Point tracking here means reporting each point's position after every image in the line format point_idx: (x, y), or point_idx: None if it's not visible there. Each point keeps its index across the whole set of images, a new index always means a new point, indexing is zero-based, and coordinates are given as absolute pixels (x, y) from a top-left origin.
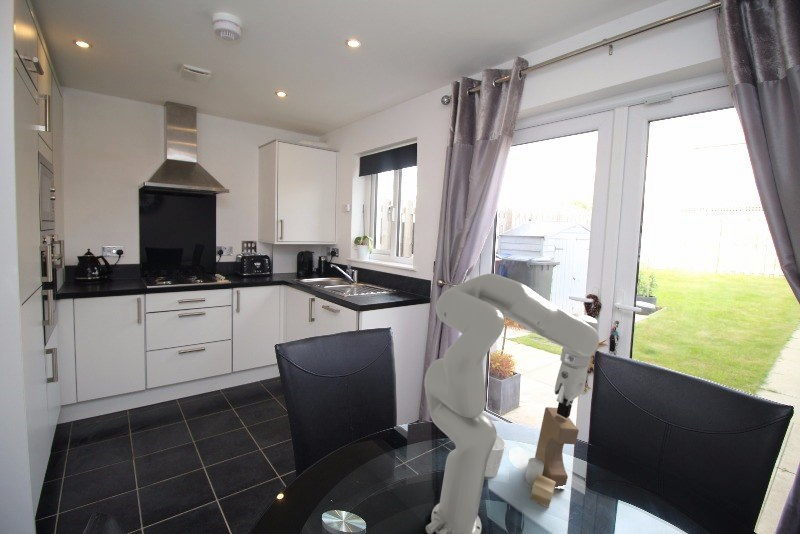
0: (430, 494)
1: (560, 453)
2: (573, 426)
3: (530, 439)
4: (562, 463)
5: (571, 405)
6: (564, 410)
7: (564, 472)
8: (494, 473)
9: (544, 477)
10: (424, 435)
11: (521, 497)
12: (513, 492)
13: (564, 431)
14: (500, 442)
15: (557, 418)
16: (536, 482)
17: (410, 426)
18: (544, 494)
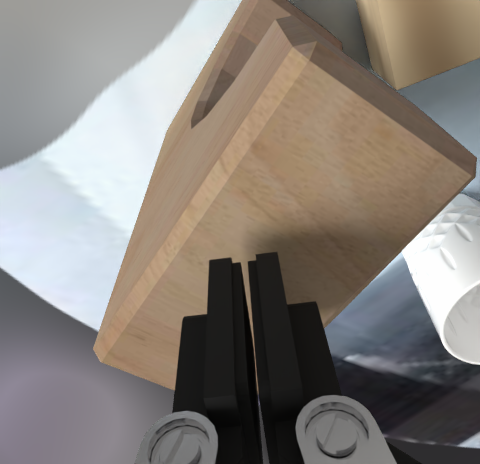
0: None
1: (214, 104)
2: (298, 127)
3: (119, 263)
4: (229, 59)
5: (224, 389)
6: (326, 348)
7: (259, 15)
8: (467, 200)
9: (396, 52)
10: (459, 404)
11: (477, 62)
12: (475, 99)
13: (444, 133)
14: (442, 297)
15: (318, 290)
16: (470, 50)
17: (458, 439)
18: None
